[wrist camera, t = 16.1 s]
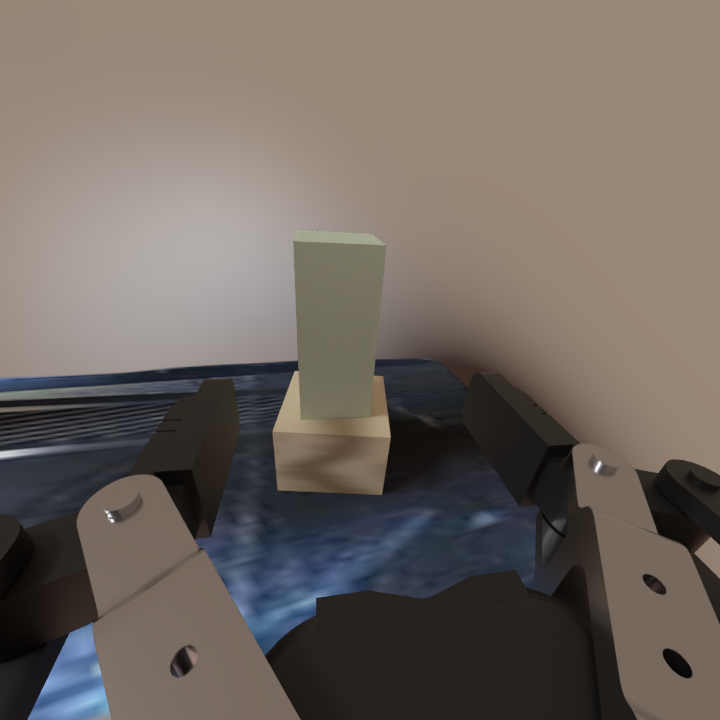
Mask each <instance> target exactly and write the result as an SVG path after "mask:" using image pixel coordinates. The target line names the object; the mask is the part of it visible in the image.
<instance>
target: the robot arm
mask: <svg viewBox="0 0 720 720" xmlns="http://www.w3.org/2000/svg"><path fill="white" fill-rule="evenodd" d="M462 414H463V421H464V424H465V426H466V428H467V429H468V431H469V432H470V434H471V435H472V436H473V438H474V439H475V441H476V442H477V444H478V445H479V447H480V448H481V450H482V451H483V453H484V454H485V456H486V457H487V459H488V460H489V462H490V463H491V465H492V466H493V468H494V469H495V471H496V472H497V474H498V475H499V477H500V478H501V480H502V481H503V482H504V484H505V485H506V487H507V488H508V490H509V491H510V493H511V494H512V496H513V497H514V499H515V500H516V502H517V503H518V505H519V506H528V505H537V506H538V507H539V508H540V511H539V513H538V515H537V519H536V552H535V577H534V582H533V586H532V589H529V588H525V586H524V585H523V583H522V581H521V579H520V577H519V575H518V574H517V572H516V570H512V571H505V572H498V573H490V574H483V575H476V576H470V577H468V578H466V579H465V580H463V581H461V582H459V583H457V584H455V585H453V586H451V587H449V588H447V589H446V590H444V591H442V592H440V593H438V594H436V595H434V596H432V597H430V598H427V599H419V598H413V597H406V596H400V595H394V594H388V593H381V592H375V591H363V592H356V593H349V594H342V595H335V596H328V597H321V598H316V614H317V615H316V616H314V617H312V618H310V619H308V620H306V621H304V622H303V623H301V624H300V625H298V626H297V627H295V628H294V629H292V630H291V631H290V632H289V633H287V634H286V635H285V636H284V637H283V638H282V639H280V640H279V641H278V642H277V643H276V644H275V645H274V646H273V647H272V649H271V650H270V651H269V652H268V653H267V654H266V655H265V656H264V654H263V652H262V650H261V649H260V647H259V645H258V643H257V642H256V640H255V638H254V636H253V635H252V633H251V631H250V629H249V627H248V626H247V624H246V622H245V620H244V619H243V617H242V615H241V613H240V611H239V610H238V608H237V606H236V604H235V603H234V601H233V599H232V597H231V595H230V594H229V592H228V590H227V588H226V587H225V585H224V583H223V581H222V580H221V578H220V576H219V574H218V572H217V571H216V569H215V567H214V565H213V564H212V562H211V560H210V558H209V557H208V555H207V553H206V552H205V551H204V549H203V548H200V549H199V547H198V546H197V544H196V542H195V539H197V538H206V537H211V534H212V530H213V526H214V523H215V519H216V516H217V512H218V508H219V505H220V501H221V498H222V494H223V491H224V487H225V483H226V480H227V476H228V473H229V469H230V465H231V462H232V458H233V455H234V451H235V447H236V444H237V440H238V436H239V414H238V408H237V401H236V395H235V389H234V383H233V380H232V379H231V378H225V379H204V380H203V382H202V384H201V386H200V388H199V389H198V391H197V393H196V395H195V396H185V397H183V398H182V399H181V400H179V401H178V402H177V403H176V404H174V405H173V406H172V407H171V408H170V409H169V411H168V412H167V414H166V416H165V417H164V419H163V423H160V425H159V427H158V428H157V430H156V434H154V435H153V436H152V438H151V439H150V441H149V443H148V444H147V446H146V447H145V449H144V450H143V452H142V454H141V455H140V457H139V458H138V460H137V462H136V463H135V465H134V466H133V468H132V470H131V471H130V473H129V474H128V476H127V477H126V478H122V479H120V480H117V481H115V482H113V483H111V484H109V485H107V486H106V487H104V488H102V489H101V490H99V491H98V492H97V493H95V494H94V495H93V496H92V497H91V498H90V499H89V500H88V501H87V502H86V503H85V504H84V506H83V507H82V509H81V510H80V511H79V512H76V513H74V514H71V515H67V516H64V517H61V518H58V519H55V520H51V521H48V522H45V523H42V524H39V525H35V526H32V527H29V528H26V529H24V528H23V527H22V525H21V524H20V523H19V521H18V520H17V519H16V518H15V517H13V516H10V515H2V514H1V515H0V720H27V719H28V717H29V715H30V713H31V711H32V709H33V707H34V705H35V703H36V701H37V699H38V696H39V694H40V692H41V690H42V688H43V686H44V684H45V682H46V680H47V678H48V676H49V674H50V672H51V670H52V668H53V666H54V663H55V661H56V659H57V657H58V655H59V653H60V651H61V649H62V647H63V645H64V643H65V641H66V639H67V637H68V635H69V633H70V632H72V631H74V630H77V629H79V628H81V627H83V626H86V625H88V624H90V623H92V622H93V636H94V642H95V647H96V651H97V656H98V660H99V665H100V669H101V674H102V678H103V683H104V687H105V692H106V696H107V701H108V705H109V710H110V714H111V719H112V720H720V579H719V578H718V577H717V576H716V575H715V574H714V573H713V572H712V571H711V570H710V569H709V568H708V567H707V566H706V565H705V564H704V563H703V562H702V561H701V560H700V559H699V558H698V557H697V556H696V555H695V554H694V553H695V552H696V551H697V550H698V549H699V548H700V547H701V546H702V545H703V544H704V543H705V542H706V541H707V540H708V539H709V538H710V537H712V538H713V539H714V540H715V541H716V542H717V543H718V544H719V545H720V475H718V474H717V473H715V472H713V471H711V470H709V469H707V468H705V467H703V466H700V465H697V464H695V463H692V462H688V461H684V460H675V459H674V460H669V461H668V462H667V463H666V464H665V465H664V466H663V468H662V469H661V470H660V472H659V473H654V472H648V471H642V470H637V469H634V468H633V467H632V466H631V465H630V464H629V463H628V462H627V461H626V460H624V459H623V458H622V457H620V456H619V455H617V454H615V453H613V452H612V451H610V450H607V449H605V448H602V447H600V446H596V445H592V444H580V443H579V442H578V441H577V440H576V439H575V438H574V437H573V436H572V435H570V434H569V433H568V432H567V431H566V430H565V429H564V428H563V427H562V426H561V425H560V424H558V423H557V422H556V421H555V420H554V419H553V418H552V417H551V416H550V415H547V413H546V411H544V410H543V409H542V408H541V407H540V406H538V404H537V403H536V402H535V401H534V400H533V399H531V398H530V397H529V396H528V395H527V394H525V393H524V392H522V391H520V390H519V389H517V388H515V387H513V386H512V385H511V384H510V383H509V382H508V381H506V379H505V378H504V377H503V376H502V375H500V374H499V373H475V374H474V375H473V376H472V378H471V381H470V385H469V389H468V392H467V396H466V399H465V403H464V406H463V413H462Z"/></svg>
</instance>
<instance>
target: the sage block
mask: <svg viewBox="0 0 720 720" xmlns="http://www.w3.org/2000/svg"><path fill="white" fill-rule="evenodd" d="M385 254H386V245H385V244H384V243H383V242H381V241H380V240H379V239H377V238H376V237H374V236H373V235H372V234H362V233H341V232H323V231H303V230H298V231H297V232H296V236H295V238H294V267H295V292H296V316H297V339H298V340H297V342H298V367H299V392H300V417H301V420H310V419H334V418H359V417H370V408H371V398H372V387H373V377H374V367H375V356H376V346H377V336H378V326H379V316H380V306H381V295H382V285H383V275H384V265H385Z"/></svg>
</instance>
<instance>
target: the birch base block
mask: <svg viewBox="0 0 720 720" xmlns="http://www.w3.org/2000/svg"><path fill="white" fill-rule="evenodd" d="M390 440H391V435H390V427H389V420H388V412H387V404H386V396H385V388H384V380H383V376H374V377H373V387H372V398H371V408H370V417H359V418H334V419H310V420H301V417H300V392H299V371H295V372H294V375H293V377H292V380H291V383H290V386H289V388H288V391H287V394H286V396H285V399H284V402H283V405H282V407H281V410H280V413H279V415H278V418H277V421H276V424H275V426H274V429H273V442H274V453H275V465H276V476H277V487H278V490H282V491H305V492H328V493H351V494H374V495H382V492H383V485H384V479H385V472H386V466H387V459H388V453H389V446H390Z"/></svg>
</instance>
